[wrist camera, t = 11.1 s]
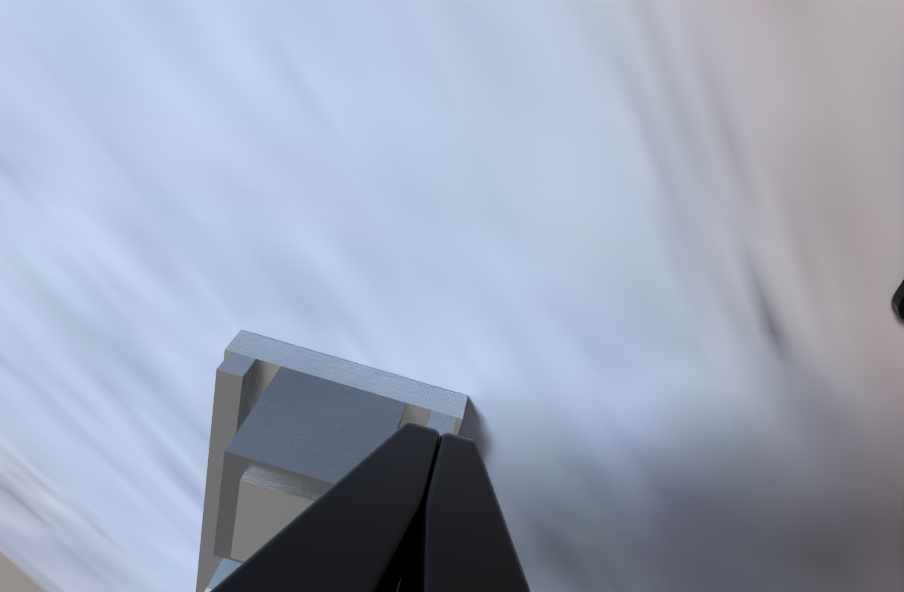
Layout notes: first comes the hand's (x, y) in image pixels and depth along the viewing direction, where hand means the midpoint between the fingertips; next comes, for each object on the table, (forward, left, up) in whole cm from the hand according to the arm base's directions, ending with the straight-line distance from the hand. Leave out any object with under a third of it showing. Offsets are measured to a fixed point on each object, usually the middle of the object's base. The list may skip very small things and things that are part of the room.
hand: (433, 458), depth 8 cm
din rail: (+3, +16, -12) cm, 20 cm away
